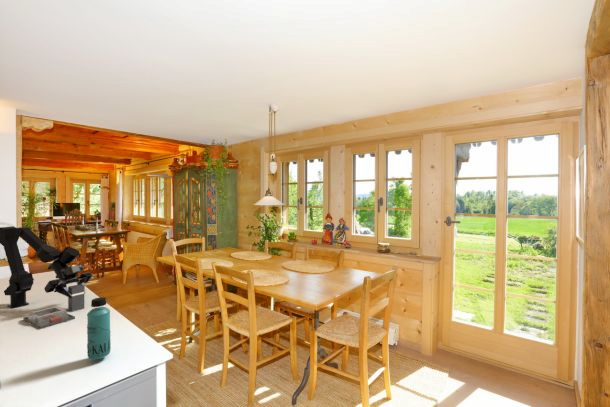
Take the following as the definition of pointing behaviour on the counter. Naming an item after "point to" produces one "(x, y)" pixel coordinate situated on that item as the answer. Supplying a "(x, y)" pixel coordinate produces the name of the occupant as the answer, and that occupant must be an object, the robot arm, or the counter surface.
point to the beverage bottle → (98, 330)
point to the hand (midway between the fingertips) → (78, 295)
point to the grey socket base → (48, 317)
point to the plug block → (76, 297)
